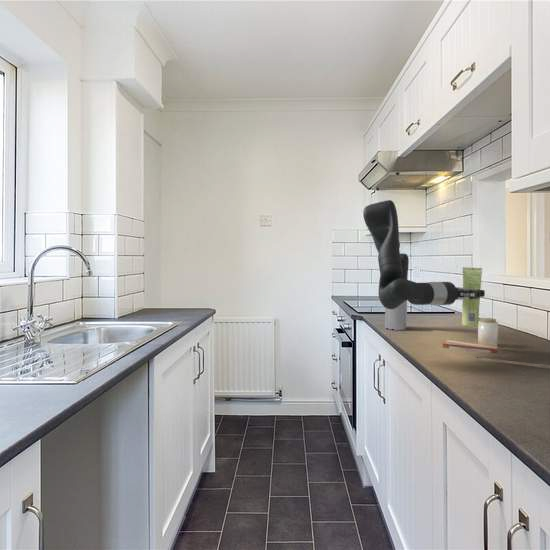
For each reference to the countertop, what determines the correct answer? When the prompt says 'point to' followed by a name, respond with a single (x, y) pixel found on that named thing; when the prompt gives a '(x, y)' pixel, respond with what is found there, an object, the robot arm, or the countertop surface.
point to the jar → (487, 332)
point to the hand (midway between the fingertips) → (477, 292)
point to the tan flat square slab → (469, 346)
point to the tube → (471, 305)
